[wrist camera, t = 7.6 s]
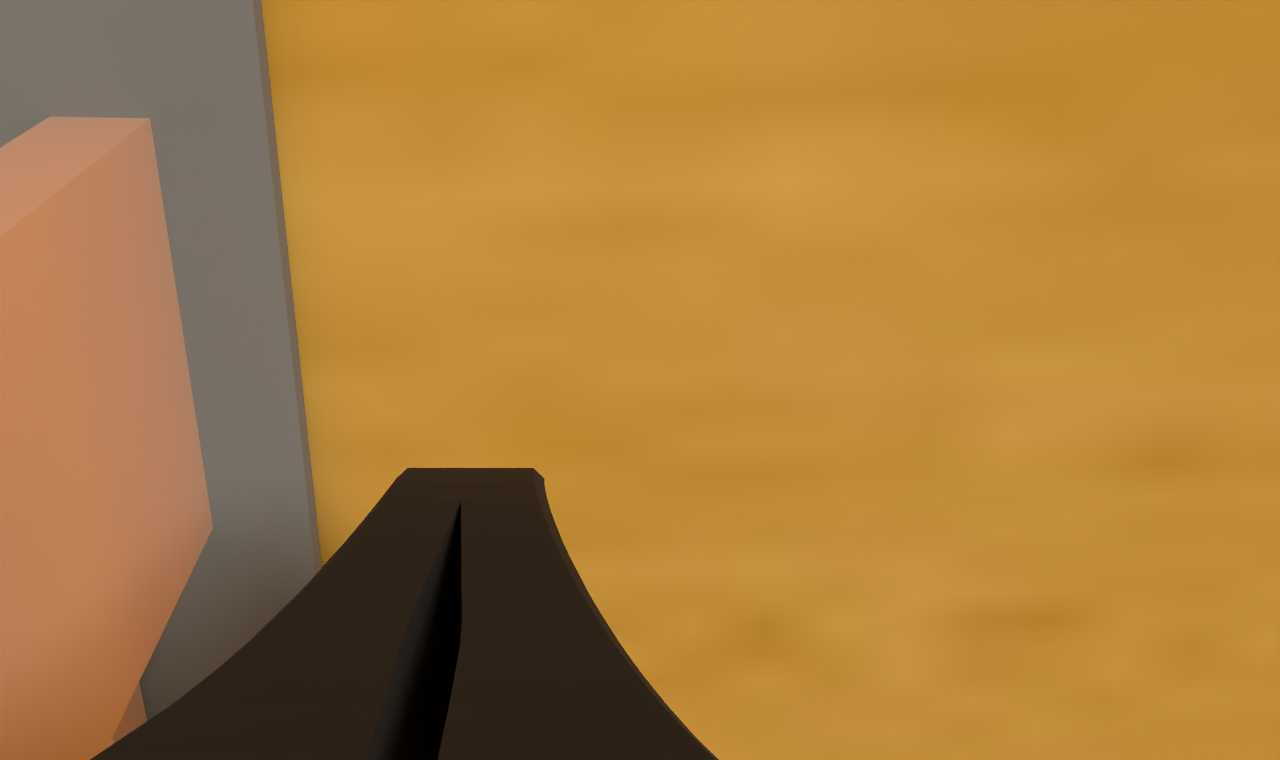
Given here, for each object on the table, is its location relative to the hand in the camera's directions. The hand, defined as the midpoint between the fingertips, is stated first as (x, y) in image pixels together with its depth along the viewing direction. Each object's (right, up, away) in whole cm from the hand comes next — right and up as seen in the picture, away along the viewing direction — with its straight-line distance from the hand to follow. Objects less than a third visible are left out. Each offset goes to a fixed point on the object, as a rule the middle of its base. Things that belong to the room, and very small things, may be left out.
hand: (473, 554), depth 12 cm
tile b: (-5, +2, +4) cm, 7 cm away
